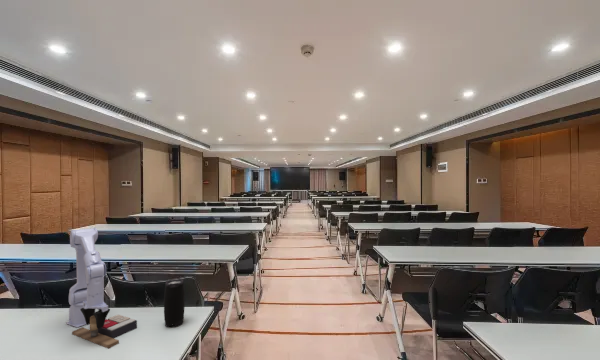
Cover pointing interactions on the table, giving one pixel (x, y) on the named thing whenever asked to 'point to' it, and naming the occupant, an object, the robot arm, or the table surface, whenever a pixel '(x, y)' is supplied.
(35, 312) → the table surface
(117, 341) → the board
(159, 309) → the table surface
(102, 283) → the robot arm
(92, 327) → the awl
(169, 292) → the portable speaker
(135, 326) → the calculator
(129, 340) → the table surface
